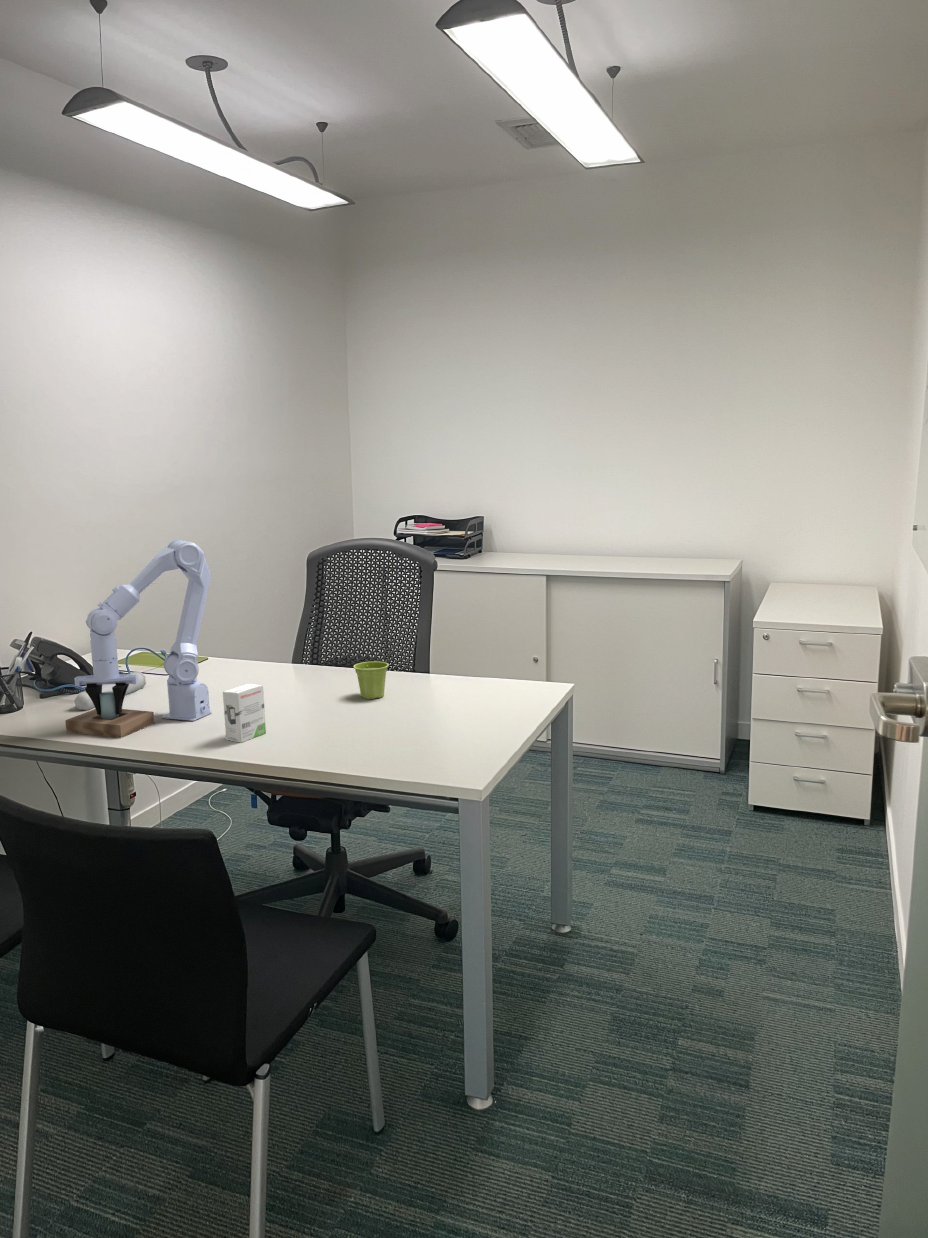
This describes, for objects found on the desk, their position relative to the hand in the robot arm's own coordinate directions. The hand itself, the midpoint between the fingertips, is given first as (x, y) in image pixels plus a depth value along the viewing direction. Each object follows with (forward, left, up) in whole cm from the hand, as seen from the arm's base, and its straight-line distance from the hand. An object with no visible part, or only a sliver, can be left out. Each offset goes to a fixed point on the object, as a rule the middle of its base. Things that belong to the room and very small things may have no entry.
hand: (109, 713), depth 223 cm
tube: (+19, -22, -4) cm, 30 cm away
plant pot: (-49, -44, -4) cm, 66 cm away
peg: (0, 0, -2) cm, 2 cm away
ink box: (-36, -3, -4) cm, 36 cm away
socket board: (0, 0, -4) cm, 4 cm away
